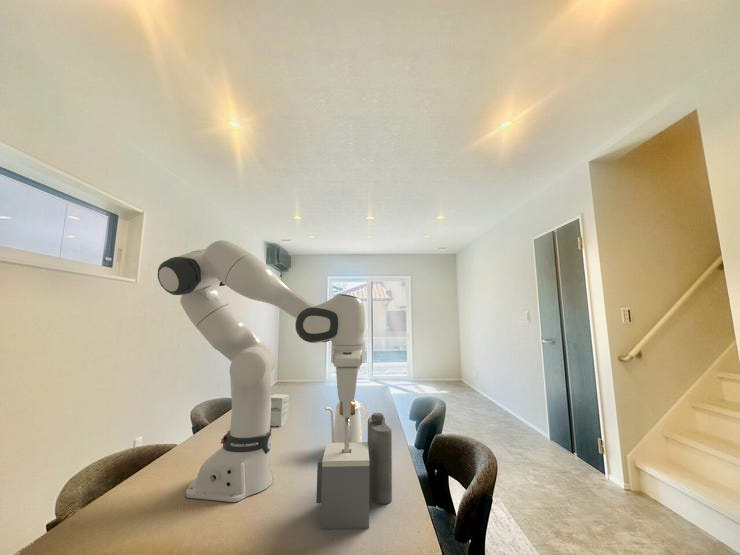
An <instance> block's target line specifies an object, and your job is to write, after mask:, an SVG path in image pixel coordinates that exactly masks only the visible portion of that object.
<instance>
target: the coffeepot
mask: <svg viewBox="0 0 740 555" xmlns="http://www.w3.org/2000/svg"><path fill="white" fill-rule="evenodd" d="M354 401H355V414H354V415H352V416H350V419H349V443H354V442H363V438H362V434H363V433H364V432H365V429H366V427H367V425H368V419H369V407H368V405H367V404H366V403H362V402H358V400H356V399H354ZM339 409H340V401H339V400H338V402H337V404H336V405H335V417H334V410H333V409H332V407H330V406H325V407H324V408H323V409H322V411H323V412H324V411H330V421H331V423H330V427H331V430H330V431H331V443H344V437H345V418H344V417H343V416H342V415H340V414H339ZM361 409H362V414H363V418H362V420H361Z"/></svg>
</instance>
